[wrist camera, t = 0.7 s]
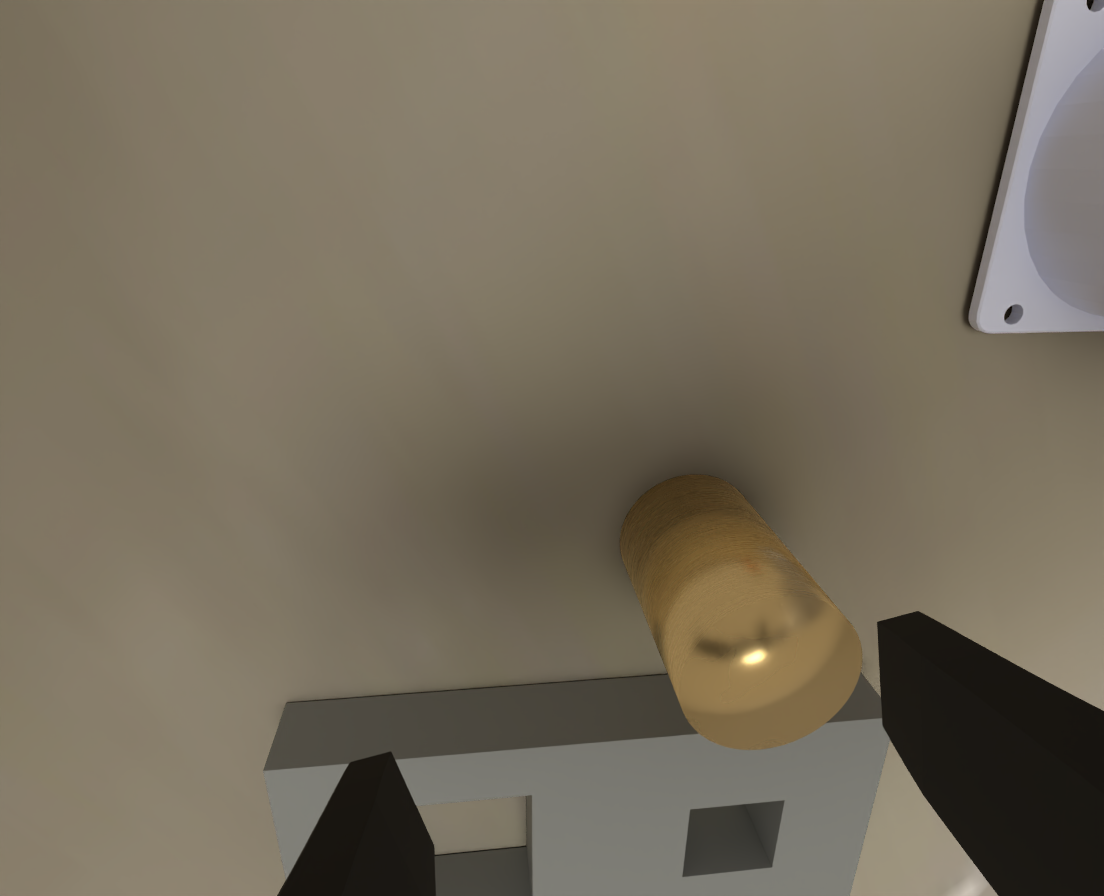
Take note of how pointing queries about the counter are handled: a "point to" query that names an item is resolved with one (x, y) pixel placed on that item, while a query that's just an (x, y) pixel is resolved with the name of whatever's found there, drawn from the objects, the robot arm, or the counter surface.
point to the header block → (600, 788)
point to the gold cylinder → (736, 616)
